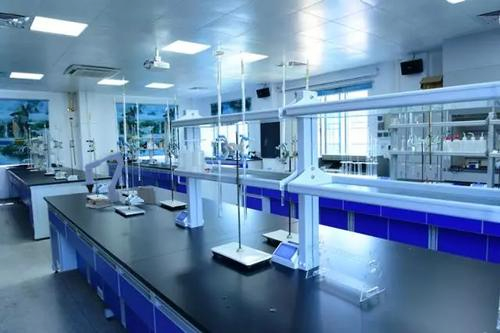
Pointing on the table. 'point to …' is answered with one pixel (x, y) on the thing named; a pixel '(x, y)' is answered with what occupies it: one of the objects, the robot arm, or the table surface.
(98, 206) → the vise bed
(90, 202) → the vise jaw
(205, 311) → the table surface
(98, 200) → the brass block
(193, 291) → the table surface
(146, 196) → the geiger counter
